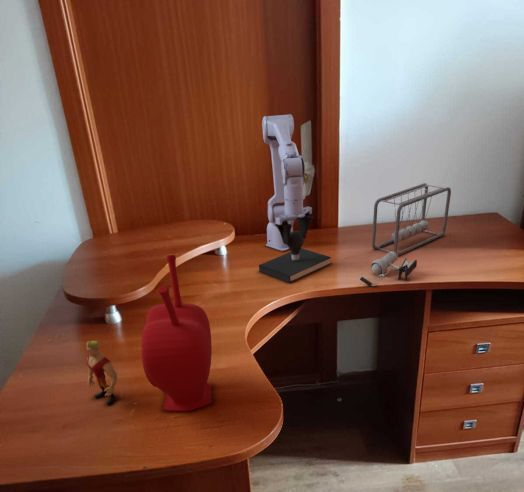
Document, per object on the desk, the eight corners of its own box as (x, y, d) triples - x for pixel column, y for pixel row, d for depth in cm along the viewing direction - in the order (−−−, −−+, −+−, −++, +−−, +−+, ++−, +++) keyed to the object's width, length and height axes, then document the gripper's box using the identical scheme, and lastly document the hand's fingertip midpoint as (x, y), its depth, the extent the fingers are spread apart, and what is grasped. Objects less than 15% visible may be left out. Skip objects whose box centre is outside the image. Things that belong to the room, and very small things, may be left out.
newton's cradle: (421, 229, 195) (426, 181, 185) (445, 235, 188) (452, 186, 178) (370, 250, 179) (373, 199, 169) (395, 257, 172) (399, 205, 162)
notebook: (259, 272, 168) (258, 264, 167) (300, 254, 179) (300, 247, 178) (289, 283, 159) (289, 275, 158) (331, 264, 170) (331, 257, 169)
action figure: (86, 395, 114) (69, 337, 106) (100, 387, 116) (84, 330, 108) (112, 410, 109) (97, 351, 101) (126, 402, 111) (111, 343, 103)
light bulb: (306, 258, 169) (306, 229, 164) (300, 265, 165) (299, 235, 159) (290, 257, 171) (289, 228, 166) (284, 263, 167) (283, 233, 161)
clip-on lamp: (383, 300, 152) (419, 270, 159) (383, 283, 147) (420, 253, 155) (352, 286, 159) (389, 258, 166) (352, 269, 154) (389, 241, 162)
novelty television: (163, 372, 120) (140, 252, 104) (217, 367, 120) (202, 247, 105) (153, 430, 102) (123, 295, 87) (217, 424, 103) (199, 289, 87)
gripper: (286, 206, 150) (287, 249, 158) (319, 195, 158) (318, 237, 166) (269, 202, 155) (272, 244, 162) (302, 191, 163) (303, 232, 170)
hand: (294, 240), depth 164 cm, fingers open, 7 cm apart
